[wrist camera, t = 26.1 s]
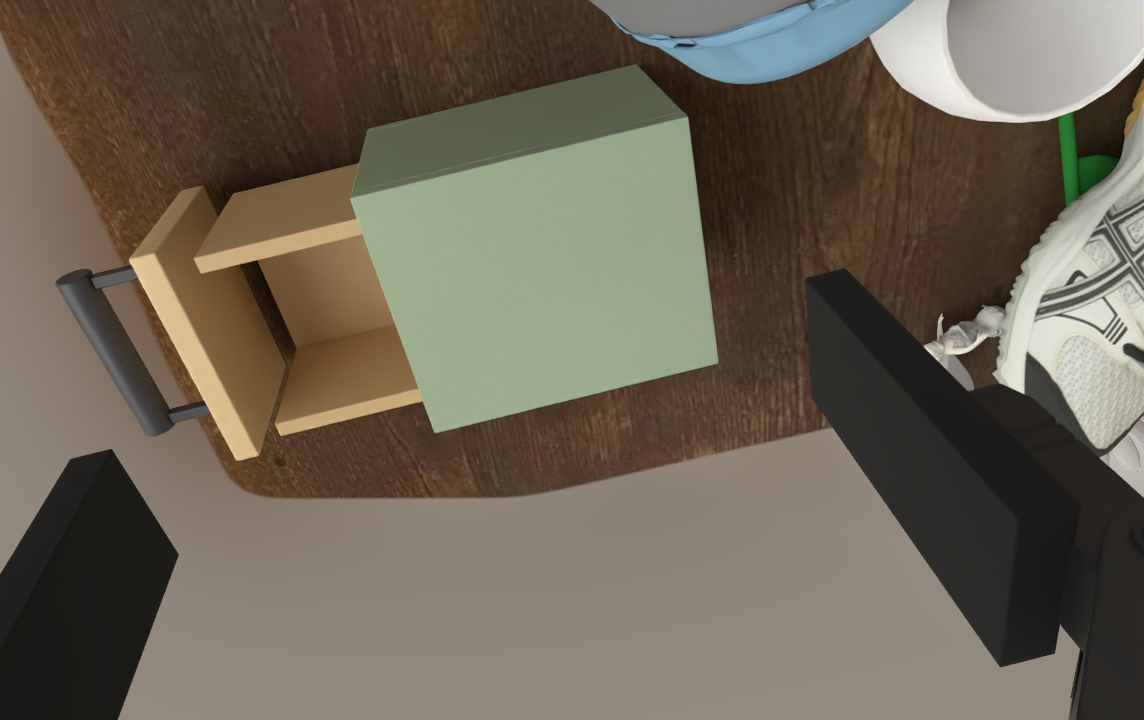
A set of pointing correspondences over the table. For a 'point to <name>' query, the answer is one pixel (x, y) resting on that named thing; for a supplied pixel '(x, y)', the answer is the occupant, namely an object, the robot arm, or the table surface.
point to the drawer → (256, 312)
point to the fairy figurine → (952, 344)
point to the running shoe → (1086, 307)
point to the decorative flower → (1076, 183)
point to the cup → (1012, 54)
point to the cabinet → (539, 245)
